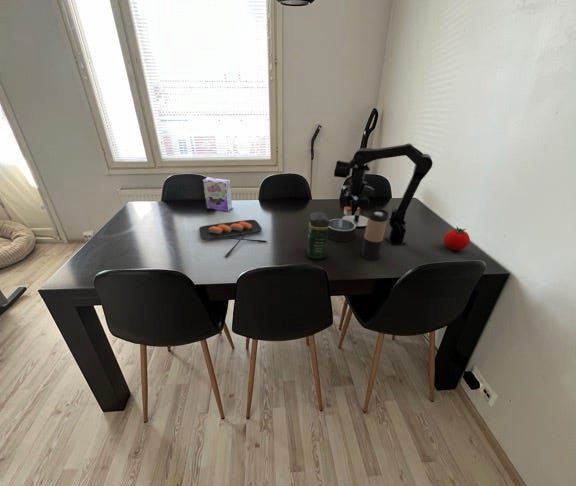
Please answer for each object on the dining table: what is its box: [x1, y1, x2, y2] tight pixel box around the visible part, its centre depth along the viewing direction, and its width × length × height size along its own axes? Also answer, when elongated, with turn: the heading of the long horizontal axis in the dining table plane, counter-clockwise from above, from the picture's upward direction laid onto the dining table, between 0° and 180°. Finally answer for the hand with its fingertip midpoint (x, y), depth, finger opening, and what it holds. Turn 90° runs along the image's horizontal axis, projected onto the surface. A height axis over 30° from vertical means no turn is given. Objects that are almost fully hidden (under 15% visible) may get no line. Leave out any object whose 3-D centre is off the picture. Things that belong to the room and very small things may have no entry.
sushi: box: [343, 206, 361, 216], centre depth 138 cm, size 7×4×3 cm, turn 102°
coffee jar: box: [306, 211, 330, 260], centre depth 122 cm, size 10×8×19 cm
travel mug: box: [361, 208, 389, 260], centre depth 122 cm, size 8×8×20 cm
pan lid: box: [341, 212, 368, 228], centre depth 155 cm, size 15×15×6 cm
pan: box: [327, 218, 357, 242], centre depth 142 cm, size 14×14×6 cm
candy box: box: [202, 176, 233, 212], centre depth 163 cm, size 14×6×16 cm, turn 73°
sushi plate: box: [198, 219, 267, 258], centre depth 136 cm, size 29×30×4 cm
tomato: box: [443, 226, 471, 251], centre depth 132 cm, size 10×10×10 cm
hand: (351, 212), depth 138 cm, fingers closed on sushi, 3 cm apart
